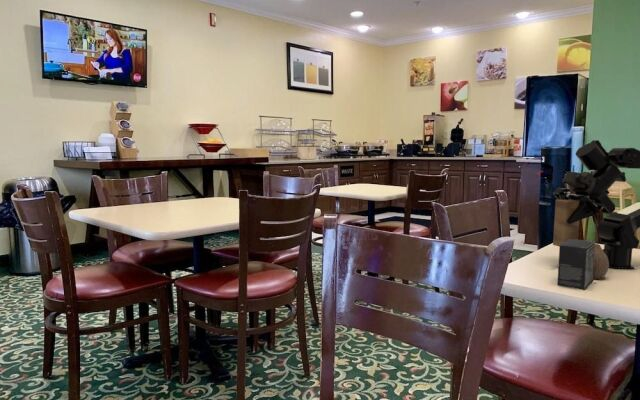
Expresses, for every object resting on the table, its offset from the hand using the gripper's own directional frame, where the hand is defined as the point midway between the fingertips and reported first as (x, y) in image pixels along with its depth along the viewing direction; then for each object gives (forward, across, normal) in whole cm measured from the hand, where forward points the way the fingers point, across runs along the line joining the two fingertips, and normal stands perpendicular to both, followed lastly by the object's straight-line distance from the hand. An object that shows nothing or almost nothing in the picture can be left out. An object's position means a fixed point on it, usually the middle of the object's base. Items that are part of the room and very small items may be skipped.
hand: (562, 221), depth 131 cm
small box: (+14, +14, +5) cm, 21 cm away
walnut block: (+4, 0, +6) cm, 7 cm away
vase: (+8, +10, +12) cm, 17 cm away
